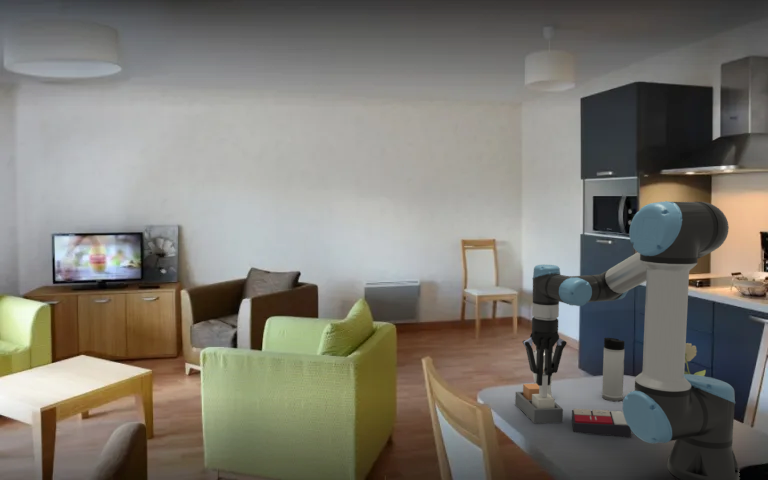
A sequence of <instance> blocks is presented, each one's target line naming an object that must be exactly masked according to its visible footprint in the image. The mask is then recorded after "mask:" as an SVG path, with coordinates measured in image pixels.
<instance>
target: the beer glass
mask: <svg viewBox="0 0 768 480" xmlns="http://www.w3.org/2000/svg"><path fill="white" fill-rule="evenodd" d="M554 352H555V351H553V352H552V360H553V356H554ZM533 354H534V358H535V363H536V357H537V350H536V349H534V350H533ZM544 369H545V350H544V358H543V373H545V371H544ZM554 374H555V373H552V376H551V384H550V385H548V389H547V394H549V395H550V396H552V397H553V393H552V383H553V382H552V381H553V377H554ZM532 376H533V381H534V383H533V384H537V383H536V381H537V374H535V373H533V372H532Z"/></svg>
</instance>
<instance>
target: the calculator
mask: <svg viewBox="0 0 768 480" xmlns="http://www.w3.org/2000/svg"><path fill="white" fill-rule="evenodd" d="M571 421H572V422H571V423H572V429H573V433H578V434H588V435H599V436H612V437H616V438H625V439H631V437H632V431H631V429H630V427H629V426H628V424H627V422H626V420H625V418H624V414H623V410H622V411H621V410H620V411H617V410H611V411H610V410H607V409H592V410H591V409H589V408H573V409H572V410H571Z"/></svg>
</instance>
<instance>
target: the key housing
mask: <svg viewBox="0 0 768 480" xmlns="http://www.w3.org/2000/svg"><path fill="white" fill-rule="evenodd" d="M514 396H515V397H514V398H515V400H514V401H515V406H517V408H519V410H520V409H521V410H522V411H523V412H524V413H525V414H526V415H527V416H528V417H529V418H530V419H531V420H530V419H529V418H528V417H527V418H528V419H529V420H530V422H532V423H533V424H534V423H536V424H554V423H553V422H559V423H563V421H564V418H563V416H564V408H563V407H561V406H560V405H559V404H558V403H557V402H555V408H543V409H536V408H535V407H534V406H533V405H532V400H527V399H526V398H525V397H524V396H523V391H515V395H514ZM523 412H522V413H523ZM524 413H523V414H524ZM525 414H524V415H525ZM526 415H525V416H526Z"/></svg>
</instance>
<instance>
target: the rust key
mask: <svg viewBox="0 0 768 480" xmlns="http://www.w3.org/2000/svg"><path fill="white" fill-rule="evenodd" d="M522 392H523V396H524V397H525V398H526V399H527V400H532V394H539V385H537V384H534V383H523V384H522Z"/></svg>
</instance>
